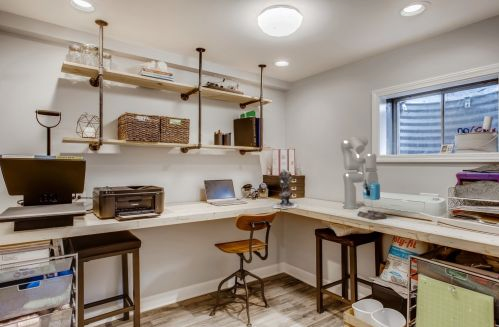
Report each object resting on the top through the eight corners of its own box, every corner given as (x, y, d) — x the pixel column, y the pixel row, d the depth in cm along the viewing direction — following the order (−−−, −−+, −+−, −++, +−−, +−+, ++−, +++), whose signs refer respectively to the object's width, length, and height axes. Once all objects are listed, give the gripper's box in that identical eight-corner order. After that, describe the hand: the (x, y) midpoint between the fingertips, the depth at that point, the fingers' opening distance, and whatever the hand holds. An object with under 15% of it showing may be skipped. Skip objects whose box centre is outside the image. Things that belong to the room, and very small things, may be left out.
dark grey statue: (267, 207, 259) (268, 168, 262) (277, 206, 282) (279, 170, 284) (290, 209, 249) (291, 169, 251) (299, 208, 271) (300, 170, 274)
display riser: (357, 216, 218) (357, 211, 218) (370, 214, 222) (370, 210, 222) (372, 220, 203) (372, 215, 203) (386, 218, 207) (386, 213, 207)
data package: (362, 198, 217) (362, 182, 217) (367, 198, 218) (367, 182, 218) (375, 200, 206) (375, 183, 206) (380, 199, 207) (380, 183, 207)
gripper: (376, 170, 218) (376, 194, 218) (357, 170, 213) (358, 195, 213) (384, 170, 211) (384, 195, 211) (365, 171, 206) (365, 196, 206)
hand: (371, 195), depth 212 cm, fingers closed on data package, 4 cm apart
